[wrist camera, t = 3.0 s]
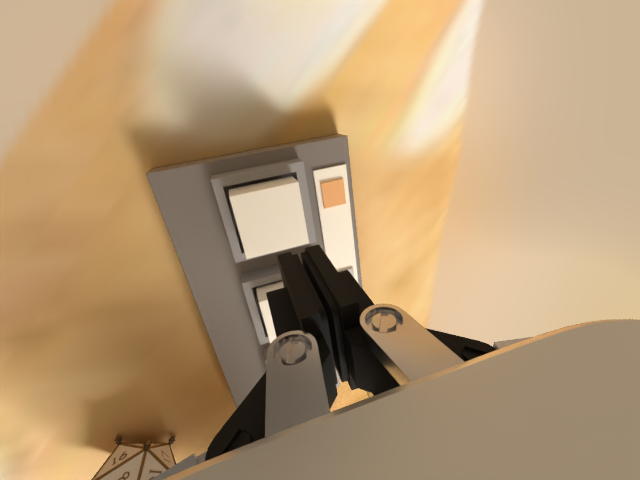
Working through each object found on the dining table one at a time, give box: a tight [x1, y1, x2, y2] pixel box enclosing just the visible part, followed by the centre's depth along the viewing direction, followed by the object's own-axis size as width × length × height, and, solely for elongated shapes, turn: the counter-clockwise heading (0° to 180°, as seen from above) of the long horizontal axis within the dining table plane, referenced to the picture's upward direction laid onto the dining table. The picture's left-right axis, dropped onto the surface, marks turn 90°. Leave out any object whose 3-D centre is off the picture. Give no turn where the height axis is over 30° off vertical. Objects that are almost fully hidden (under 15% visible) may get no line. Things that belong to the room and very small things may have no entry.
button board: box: [146, 134, 362, 408], centre depth 27 cm, size 24×14×4 cm, turn 8°
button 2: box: [229, 176, 309, 259], centre depth 21 cm, size 4×4×2 cm
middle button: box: [256, 281, 284, 344], centre depth 24 cm, size 4×4×2 cm
